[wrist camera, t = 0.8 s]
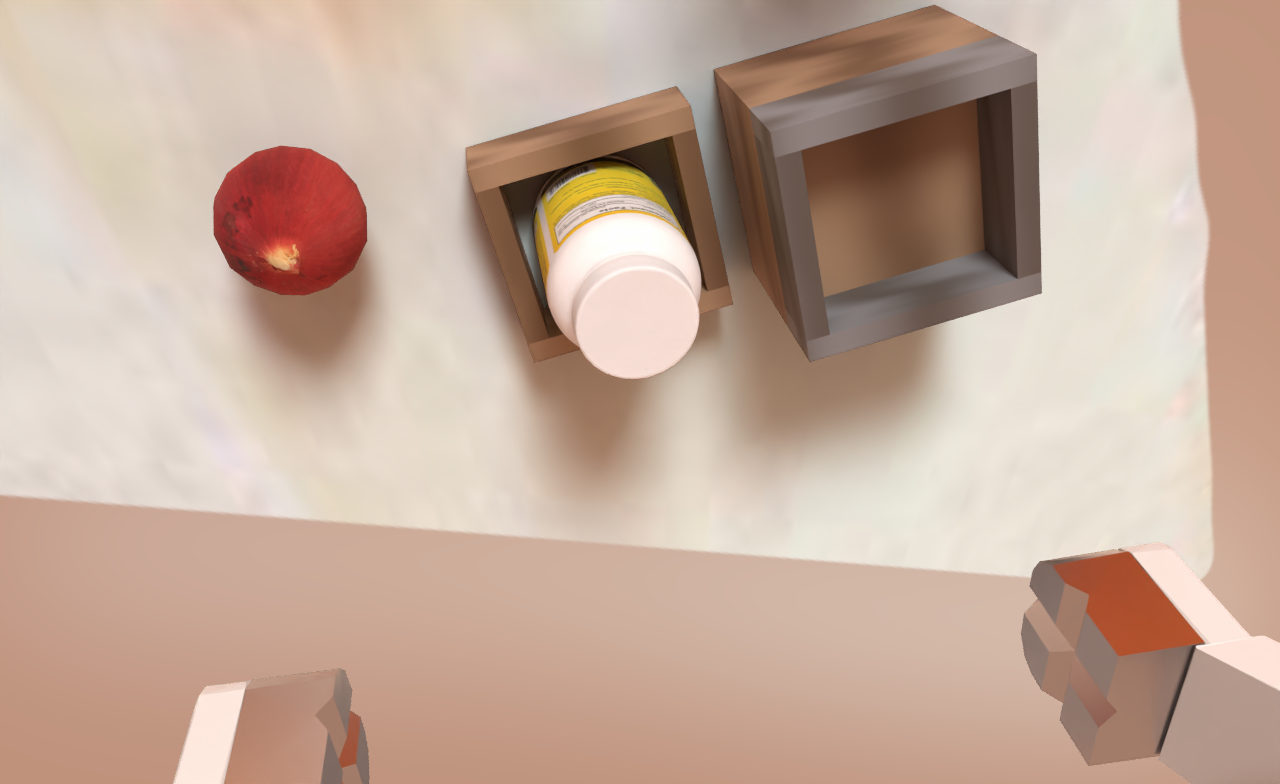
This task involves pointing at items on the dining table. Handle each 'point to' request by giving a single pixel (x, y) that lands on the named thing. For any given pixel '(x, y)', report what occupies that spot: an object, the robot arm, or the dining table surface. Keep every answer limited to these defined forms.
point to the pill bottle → (617, 267)
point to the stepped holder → (830, 180)
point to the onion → (290, 220)
